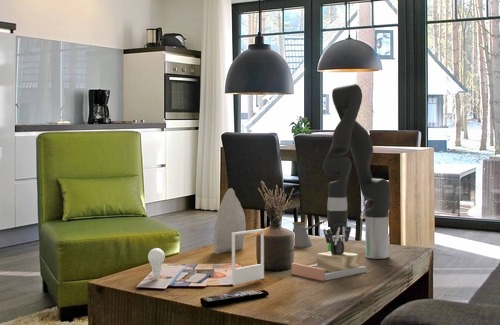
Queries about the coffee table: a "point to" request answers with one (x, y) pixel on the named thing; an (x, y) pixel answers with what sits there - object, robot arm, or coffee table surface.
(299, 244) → the coffee pot
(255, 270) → the photo frame
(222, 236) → the rock
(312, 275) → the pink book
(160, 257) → the lightbulb
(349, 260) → the light wooden block
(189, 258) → the coffee table surface
